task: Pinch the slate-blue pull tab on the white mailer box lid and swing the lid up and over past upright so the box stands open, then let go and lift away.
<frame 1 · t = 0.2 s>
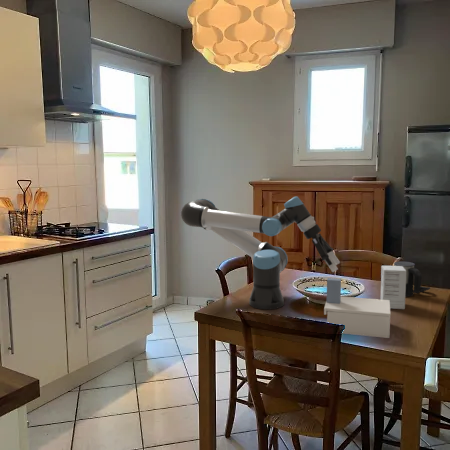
hand: (336, 267, 210), 16 cm above the table, tool tilted 35°, fingers open, 13 cm apart
supplement box: (392, 306, 205), on the table
mailer lid: (357, 295, 178), point 12 cm above the table, hinge at 0.0°
milk frother: (411, 294, 222), on the table
mailer box: (358, 327, 179), on the table
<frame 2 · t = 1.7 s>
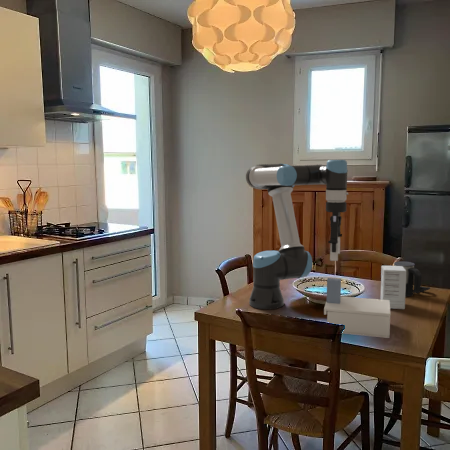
hand: (335, 256, 179), 27 cm above the table, tool pointing down, fingers open, 13 cm apart
nothing on the table moved.
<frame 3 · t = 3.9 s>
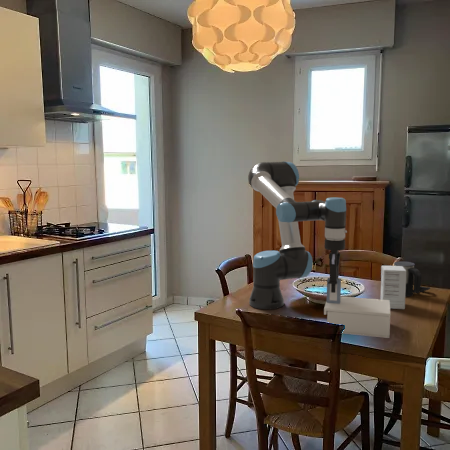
hand: (333, 298, 181), 11 cm above the table, tool pointing down, fingers closed on mailer lid, 3 cm apart
mailer lid: (357, 295, 178), point 12 cm above the table, hinge at 0.0°, touching gripper
everything else where it was.
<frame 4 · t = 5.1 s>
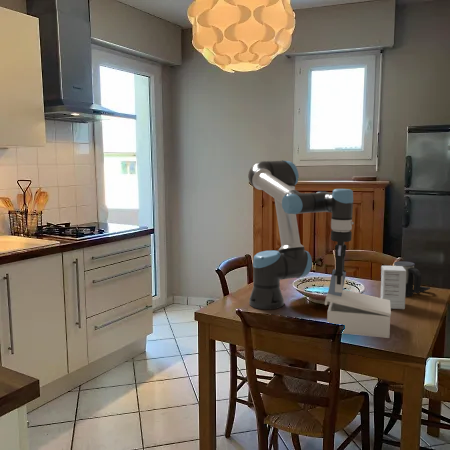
hand: (339, 290, 180), 14 cm above the table, tool pointing down, fingers closed on mailer lid, 3 cm apart
mailer lid: (360, 291, 177), point 14 cm above the table, hinge at 9.3°, touching gripper
everything else where it was.
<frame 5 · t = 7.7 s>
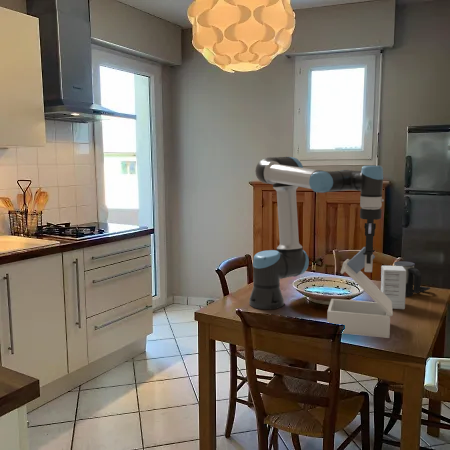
hand: (368, 270, 175), 22 cm above the table, tool pointing down, fingers closed on mailer lid, 3 cm apart
mailer lid: (375, 279, 175), point 19 cm above the table, hinge at 43.7°, touching gripper
everything else where it was.
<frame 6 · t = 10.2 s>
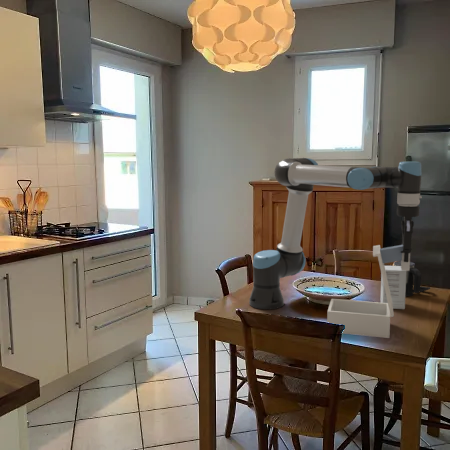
hand: (405, 269, 171), 24 cm above the table, tool pointing down, fingers closed on mailer lid, 3 cm apart
mailer lid: (395, 277, 173), point 20 cm above the table, hinge at 76.5°, touching gripper
everything else where it was.
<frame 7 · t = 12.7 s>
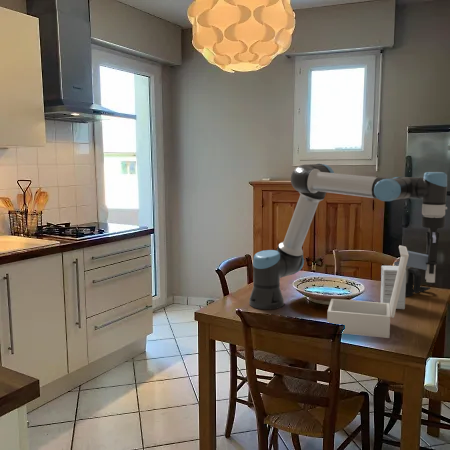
hand: (429, 280, 169), 20 cm above the table, tool pointing down, fingers open, 3 cm apart
mailer lid: (409, 283, 171), point 19 cm above the table, hinge at 99.9°
everything else where it was.
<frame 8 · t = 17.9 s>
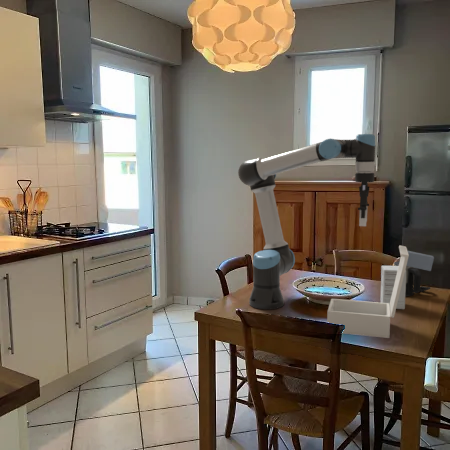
hand: (363, 223, 196), 37 cm above the table, tool pointing down, fingers open, 13 cm apart
nothing on the table moved.
at the end: mailer lid at +100° (first picture: +0°); the gripper is holding nothing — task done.
